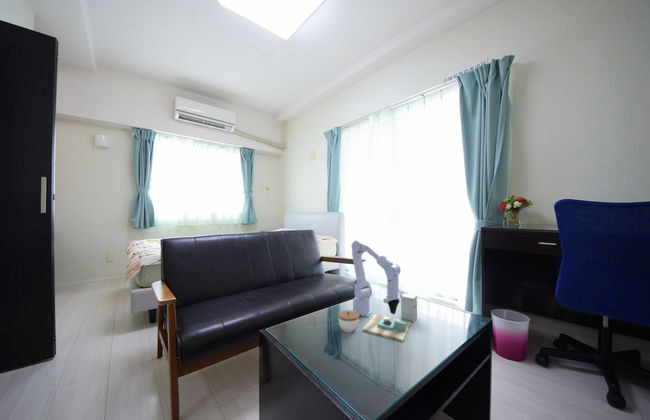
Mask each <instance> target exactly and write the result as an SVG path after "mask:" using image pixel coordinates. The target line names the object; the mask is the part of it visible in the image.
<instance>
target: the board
mask: <svg viewBox="0 0 650 420" xmlns="http://www.w3.org/2000/svg"><path fill="white" fill-rule="evenodd" d="M382 318H383V319H385V320H384V324H386V325H391V324H390V320H391V321H395V320H398V321H402V322H406V331H403V330H399V329H396V328H394V329H393V331H392V330H389V329H385V328H381V327H378V326H377V324H378V323H379V322H380V321H381V319H382ZM411 322H412V321H407V320H404V319H403V320H402V319H397V318H393V317H388V316H383V315H380V314H373V316H372V317H371V318H370V319H369V321H368V322H367V323H366V324H365V326H364V327H363V328H362V332H365V333H369V334H373V335H376V336H379V337H383V338H387V339H391V340H395V341H400V342H404V341H405V339H406V336H407V334H408V332H409V329H410V327H411V324H412V323H411Z"/></svg>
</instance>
